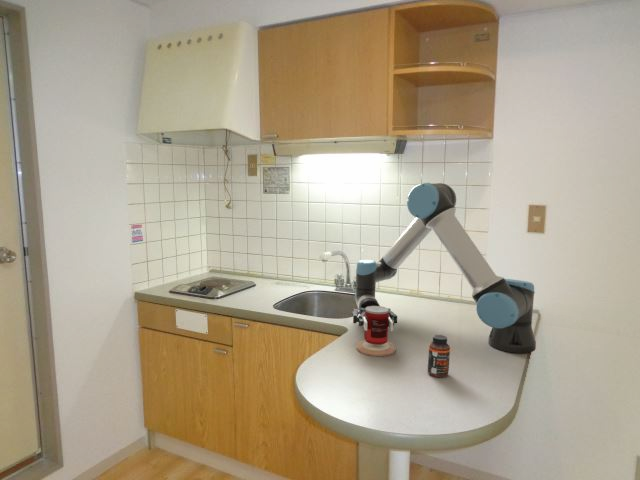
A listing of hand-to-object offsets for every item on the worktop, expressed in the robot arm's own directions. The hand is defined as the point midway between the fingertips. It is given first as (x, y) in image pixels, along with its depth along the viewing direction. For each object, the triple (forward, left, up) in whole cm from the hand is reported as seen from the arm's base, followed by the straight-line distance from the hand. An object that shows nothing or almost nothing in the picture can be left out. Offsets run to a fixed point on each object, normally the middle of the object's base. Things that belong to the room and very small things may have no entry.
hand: (379, 326), depth 150 cm
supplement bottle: (-21, -5, -10) cm, 24 cm away
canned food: (+4, -2, -7) cm, 8 cm away
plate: (+4, -2, -9) cm, 11 cm away
